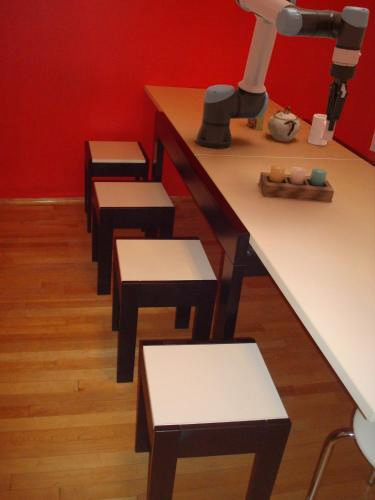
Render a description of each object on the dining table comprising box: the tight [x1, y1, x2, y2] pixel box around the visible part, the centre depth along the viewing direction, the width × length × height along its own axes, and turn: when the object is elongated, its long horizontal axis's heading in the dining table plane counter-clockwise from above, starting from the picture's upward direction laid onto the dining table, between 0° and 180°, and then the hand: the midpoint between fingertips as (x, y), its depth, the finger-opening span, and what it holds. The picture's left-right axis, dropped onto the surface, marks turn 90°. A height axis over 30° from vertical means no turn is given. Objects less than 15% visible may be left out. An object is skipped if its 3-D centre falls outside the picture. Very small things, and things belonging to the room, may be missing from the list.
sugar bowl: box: [267, 105, 302, 142], centre depth 223 cm, size 20×15×15 cm
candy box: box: [246, 112, 266, 131], centre depth 236 cm, size 9×4×15 cm, turn 23°
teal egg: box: [309, 168, 328, 187], centre depth 168 cm, size 5×5×5 cm
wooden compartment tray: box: [258, 171, 335, 203], centre depth 170 cm, size 23×12×4 cm, turn 90°
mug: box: [307, 113, 328, 147], centre depth 222 cm, size 12×8×12 cm
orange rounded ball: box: [269, 164, 286, 183], centre depth 168 cm, size 5×5×5 cm
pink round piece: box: [289, 166, 307, 185], centre depth 168 cm, size 5×5×5 cm
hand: (326, 139), depth 162 cm, fingers closed
